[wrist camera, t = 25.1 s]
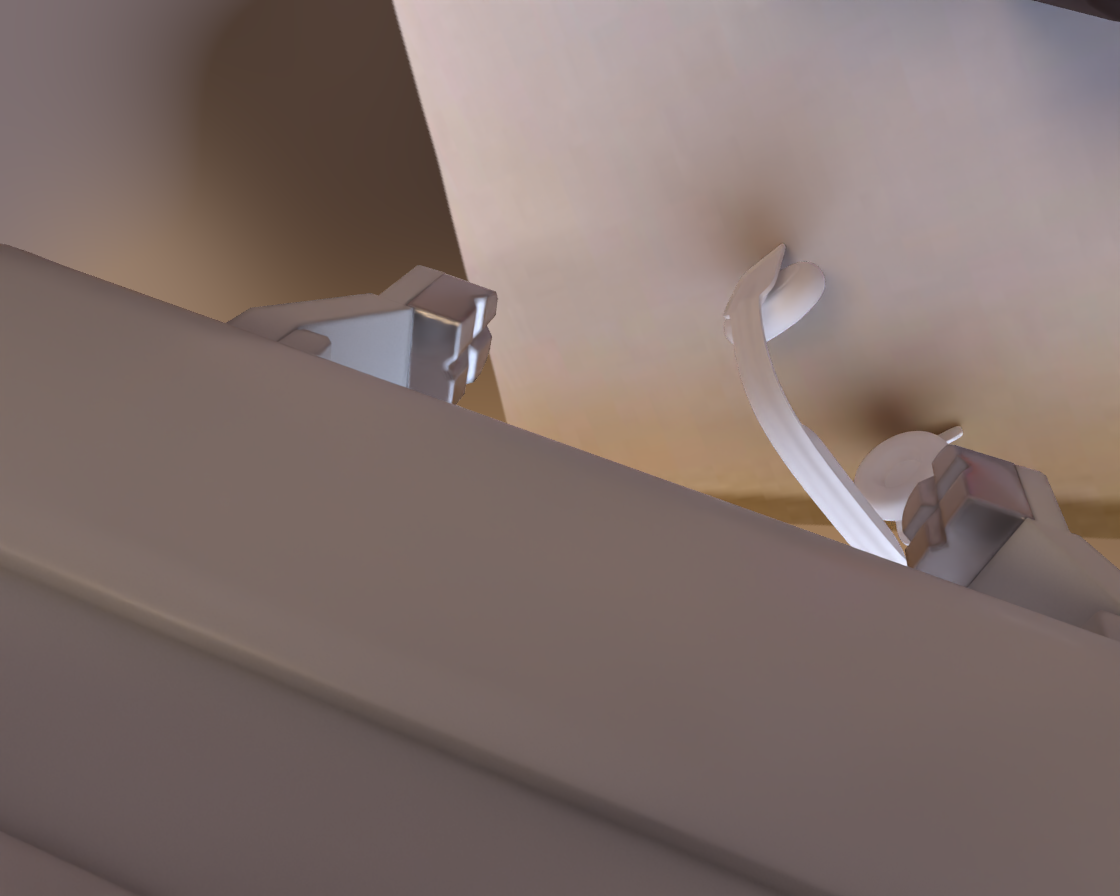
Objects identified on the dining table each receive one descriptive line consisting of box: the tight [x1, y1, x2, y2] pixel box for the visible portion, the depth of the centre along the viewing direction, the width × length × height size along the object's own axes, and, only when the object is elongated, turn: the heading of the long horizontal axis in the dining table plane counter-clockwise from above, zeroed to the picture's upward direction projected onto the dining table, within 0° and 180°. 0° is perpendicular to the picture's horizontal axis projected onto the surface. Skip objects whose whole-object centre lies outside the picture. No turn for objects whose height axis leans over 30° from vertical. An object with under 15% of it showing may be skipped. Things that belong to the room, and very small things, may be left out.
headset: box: [723, 243, 963, 566], centre depth 43 cm, size 20×7×18 cm, turn 43°
